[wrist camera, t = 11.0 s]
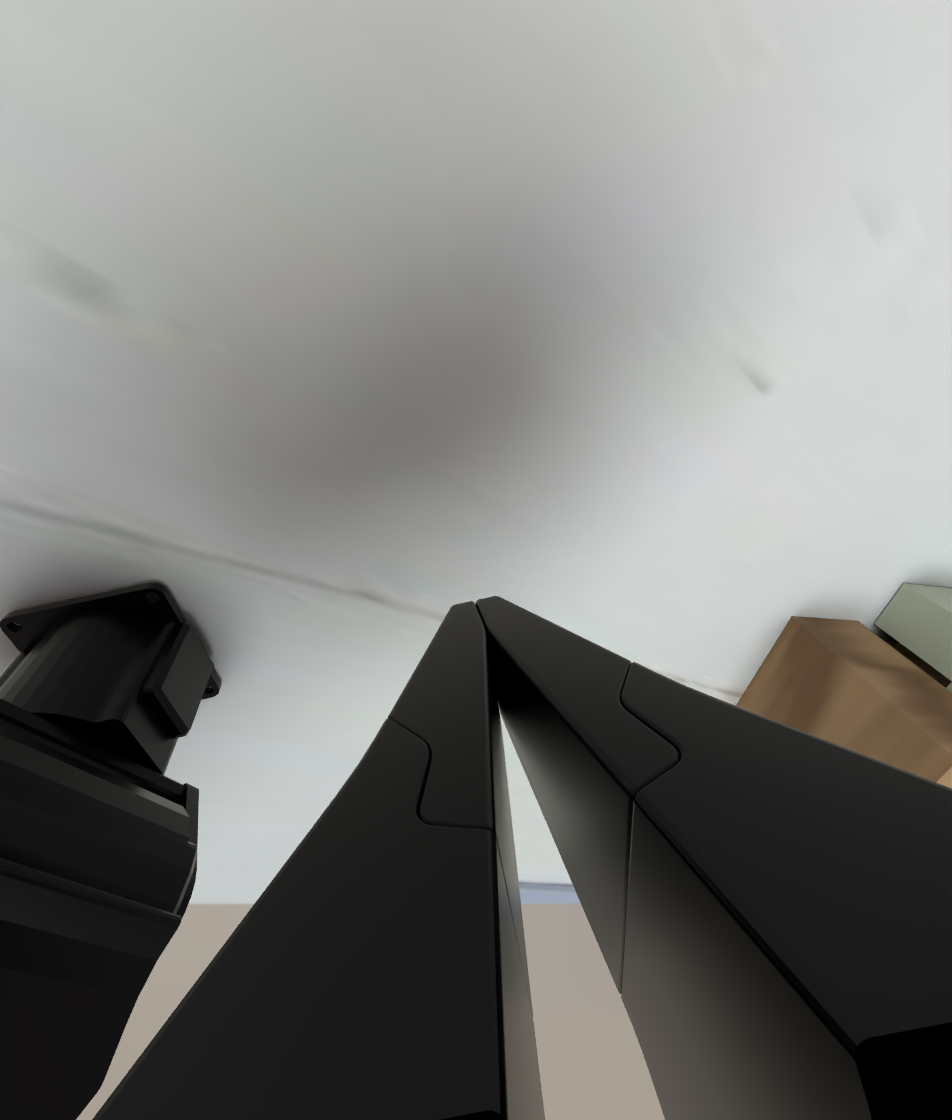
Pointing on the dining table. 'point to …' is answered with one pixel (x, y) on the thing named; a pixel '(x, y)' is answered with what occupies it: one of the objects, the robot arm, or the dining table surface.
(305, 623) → the dining table surface
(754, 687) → the rectangular block
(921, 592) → the green miniature desk
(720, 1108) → the robot arm
